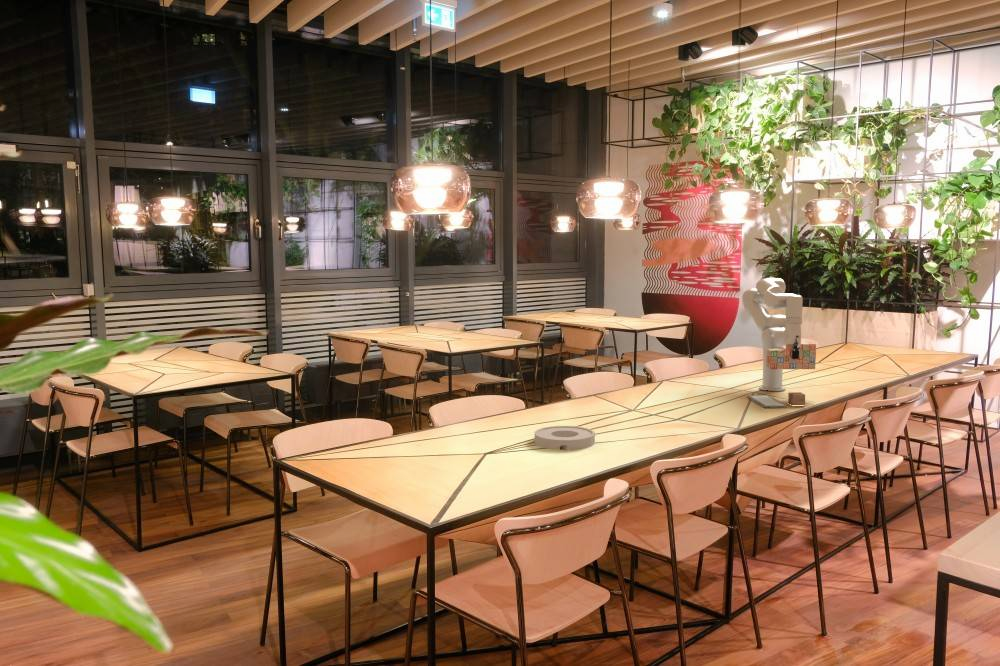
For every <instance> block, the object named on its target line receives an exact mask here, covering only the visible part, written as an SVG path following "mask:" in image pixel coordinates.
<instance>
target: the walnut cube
mask: <svg viewBox="0 0 1000 666" xmlns="http://www.w3.org/2000/svg"><path fill="white" fill-rule="evenodd" d="M787 395H788V398H787V399H788V400H787V404H788V403H789V404H791V405H805V406H806V394H805V393H803V392H799V391H798V392H788V393H787ZM789 404H788V405H789Z"/></svg>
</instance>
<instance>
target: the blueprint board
mask: <svg viewBox="0 0 1000 666" xmlns="http://www.w3.org/2000/svg"><path fill="white" fill-rule="evenodd" d="M747 397H748V398H750V399H751V400H750V399H749V400H750V401H752V400H753V401H755V402H756V403H755V402H754V403H755V404H757V403H758V404H759V405H758V404H757V405H758V406H760V405H761V407H762V406H763V407H787V408H788V405H787V404H785V403H783V402H781V401H779V400H777V399H775V398H774V397H772V396H770V395H767V394H765V395H764V394H763V395H747V396H746V398H747ZM748 398H747V399H748ZM753 401H752V402H753ZM763 407H762V408H763Z"/></svg>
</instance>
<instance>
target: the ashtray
mask: <svg viewBox="0 0 1000 666" xmlns="http://www.w3.org/2000/svg"><path fill="white" fill-rule="evenodd" d="M595 439H596V431H594V430H593V429H590V428H588V427H584V426H576V425H553V426H546V427H541V428H538V429H536V430H535V431H534V444H535V445H536V446H538V447H541V448H544V449H548V450H555V451H556V450H559V451H560V450H561V449H563V450H566V451H573V450H574V451H575V450H582V449H587V448H590V447H592V446H594V445H595Z"/></svg>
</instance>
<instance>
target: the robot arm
mask: <svg viewBox="0 0 1000 666" xmlns="http://www.w3.org/2000/svg"><path fill="white" fill-rule="evenodd" d="M786 287H787V286H786V283H785V281H784V279H782V278H779V277H777V278H776V277H775V278H761V279H760V280H758V281H757V282H756V284H755V288H749V289H747V290H745V291H743V293H742V296H741V301H742V304H743V307H744V310H745V311H746V312H747V314H748V315H749V316H750V317H751V318H752V320H753V321H754V323H755V325H756V326H757V328H758V330H759V331H760V332H761V343H762V353H763V354H762V384H761V385H759V386H758V388H759V390H762V391H766V390H768V392H783V391H785V390H786V387H785V386H784V385H783V371H784V369H769V368H767V349H780V348H779V347H786V344H789V345H792V344H793V345H792V346H793V351H792V359H799V350H800V345H801V342H802V324H803V301H804V300H803V296H802V295H800V294H795V293H785V292H786V289H787V288H786ZM763 305H766V306H767V308H770V309H772V310H785V312H784V313H785V315H784V314H770V312H769V310H768V309H767V308H766V307H764V306H763ZM796 343H797V344H796Z"/></svg>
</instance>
